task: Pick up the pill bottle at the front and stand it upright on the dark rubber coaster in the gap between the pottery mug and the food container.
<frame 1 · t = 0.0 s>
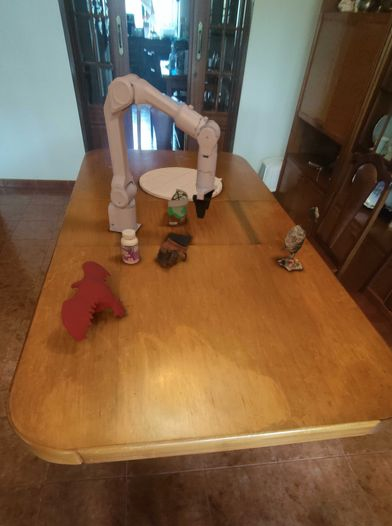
hand: (202, 213, 108), 10 cm above the table, tool pointing down, fingers open, 7 cm apart
pill bottle: (131, 260, 104), on the table
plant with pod: (288, 263, 108), on the table
food container: (179, 222, 124), on the table
pottery mug: (172, 262, 104), on the table
lazy susan: (181, 184, 151), on the table
red lobster claw: (101, 314, 85), on the table
coaster: (177, 240, 114), on the table
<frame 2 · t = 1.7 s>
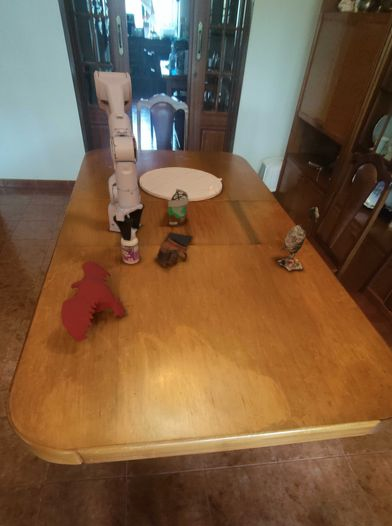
hand: (131, 234, 97), 9 cm above the table, tool pointing down, fingers open, 7 cm apart
nothing on the table moved.
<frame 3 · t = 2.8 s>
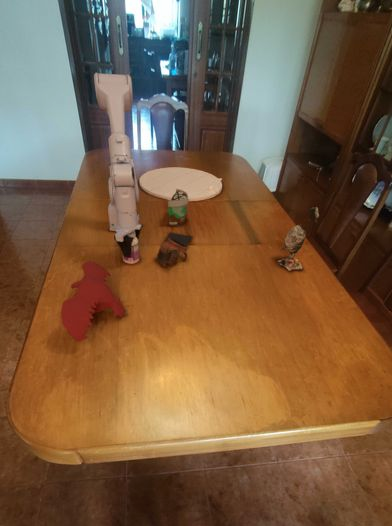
hand: (130, 251, 101), 3 cm above the table, tool pointing down, fingers closed on pill bottle, 5 cm apart
pill bottle: (131, 260, 104), on the table, touching gripper
everything else where it was.
when the fingers open (3 cm above the table, at t = 8.5 s): pill bottle stays where it is, resting on coaster.
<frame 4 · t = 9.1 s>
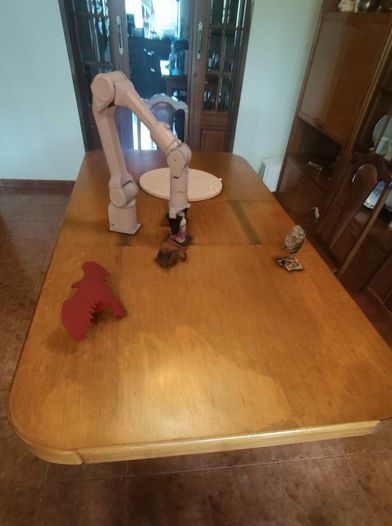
hand: (177, 229, 111), 4 cm above the table, tool pointing down, fingers open, 7 cm apart
pill bottle: (177, 240, 114), resting on coaster
everything else where it was.
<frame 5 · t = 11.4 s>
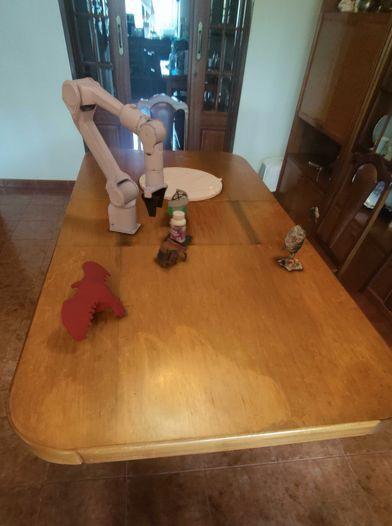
hand: (155, 211, 108), 9 cm above the table, tool pointing down, fingers open, 7 cm apart
nothing on the table moved.
at the end: pill bottle 0.1 cm off-centre on the coaster, point 0.1 cm above the coaster's base; pill bottle tilted 0°; food container moved 0.2 cm from its start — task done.
